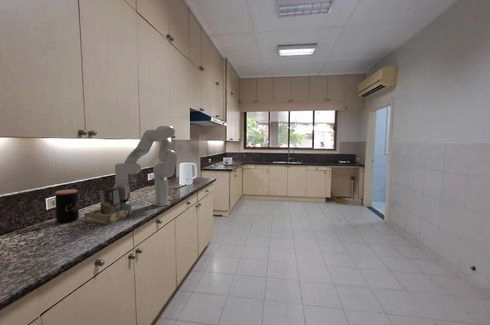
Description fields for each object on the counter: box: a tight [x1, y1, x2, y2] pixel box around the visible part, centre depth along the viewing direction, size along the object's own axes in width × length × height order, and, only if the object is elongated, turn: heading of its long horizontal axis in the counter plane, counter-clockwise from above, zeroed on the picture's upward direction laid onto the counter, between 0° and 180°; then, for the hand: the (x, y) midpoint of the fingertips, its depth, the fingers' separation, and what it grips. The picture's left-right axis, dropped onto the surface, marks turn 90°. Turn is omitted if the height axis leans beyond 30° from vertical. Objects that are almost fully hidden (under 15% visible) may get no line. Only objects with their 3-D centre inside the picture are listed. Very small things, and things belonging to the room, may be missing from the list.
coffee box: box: [99, 187, 120, 215], centre depth 144 cm, size 9×6×16 cm
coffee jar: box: [54, 188, 80, 224], centre depth 138 cm, size 11×11×18 cm
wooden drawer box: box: [84, 207, 128, 226], centre depth 142 cm, size 14×17×5 cm
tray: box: [95, 203, 133, 216], centre depth 146 cm, size 14×17×7 cm
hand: (122, 209), depth 154 cm, fingers closed
